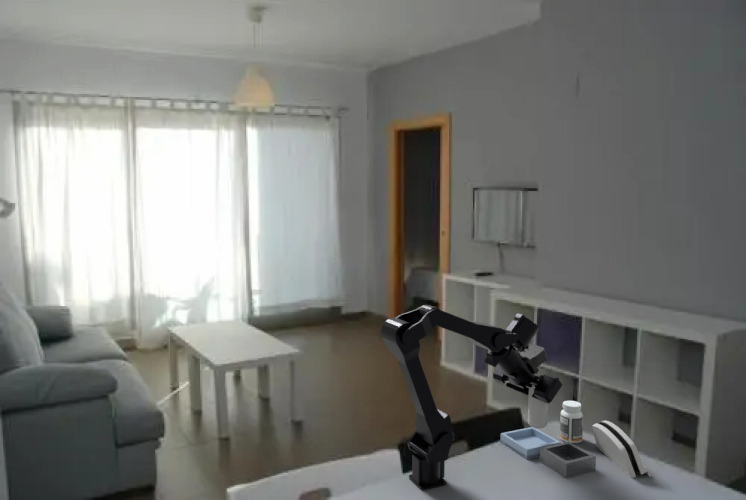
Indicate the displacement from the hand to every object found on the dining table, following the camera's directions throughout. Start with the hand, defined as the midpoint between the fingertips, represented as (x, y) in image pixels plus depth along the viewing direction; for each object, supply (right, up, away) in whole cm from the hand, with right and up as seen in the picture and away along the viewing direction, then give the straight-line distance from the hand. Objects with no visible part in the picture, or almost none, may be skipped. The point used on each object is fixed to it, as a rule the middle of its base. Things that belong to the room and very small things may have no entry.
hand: (541, 398), depth 147 cm
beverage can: (-1, -7, 0) cm, 7 cm away
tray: (-2, -13, +2) cm, 13 cm away
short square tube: (+4, -14, -8) cm, 17 cm away
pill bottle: (+10, -13, +7) cm, 18 cm away
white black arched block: (+17, -14, -5) cm, 23 cm away
